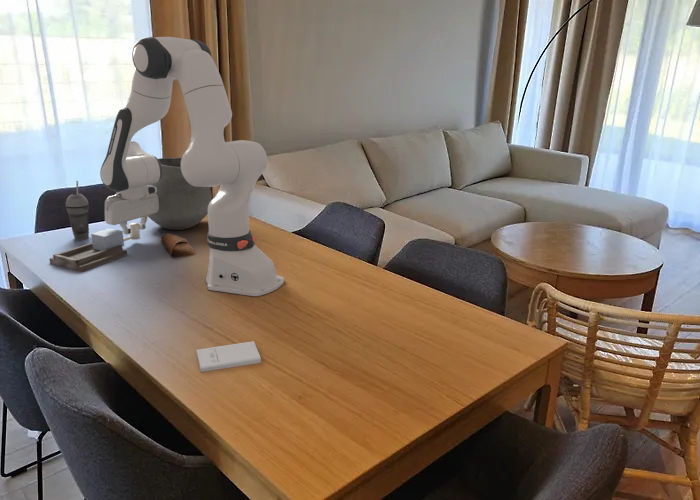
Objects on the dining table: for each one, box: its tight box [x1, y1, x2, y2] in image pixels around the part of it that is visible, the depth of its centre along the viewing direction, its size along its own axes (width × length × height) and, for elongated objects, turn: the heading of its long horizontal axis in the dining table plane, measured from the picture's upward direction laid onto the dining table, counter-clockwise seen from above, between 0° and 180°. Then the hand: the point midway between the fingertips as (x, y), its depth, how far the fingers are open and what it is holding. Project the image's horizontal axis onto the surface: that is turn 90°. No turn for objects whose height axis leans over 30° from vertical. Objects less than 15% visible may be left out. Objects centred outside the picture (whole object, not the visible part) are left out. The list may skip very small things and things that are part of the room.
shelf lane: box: [48, 242, 128, 273], centre depth 175 cm, size 14×17×3 cm
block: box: [90, 222, 141, 251], centre depth 184 cm, size 6×16×5 cm, turn 153°
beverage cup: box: [65, 180, 90, 241], centre depth 191 cm, size 7×7×20 cm
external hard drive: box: [196, 340, 262, 373], centre depth 120 cm, size 2×8×12 cm
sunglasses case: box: [160, 232, 198, 259], centre depth 186 cm, size 18×7×7 cm
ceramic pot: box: [147, 157, 213, 231], centre depth 205 cm, size 24×24×25 cm
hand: (134, 231), depth 189 cm, fingers open, 5 cm apart
